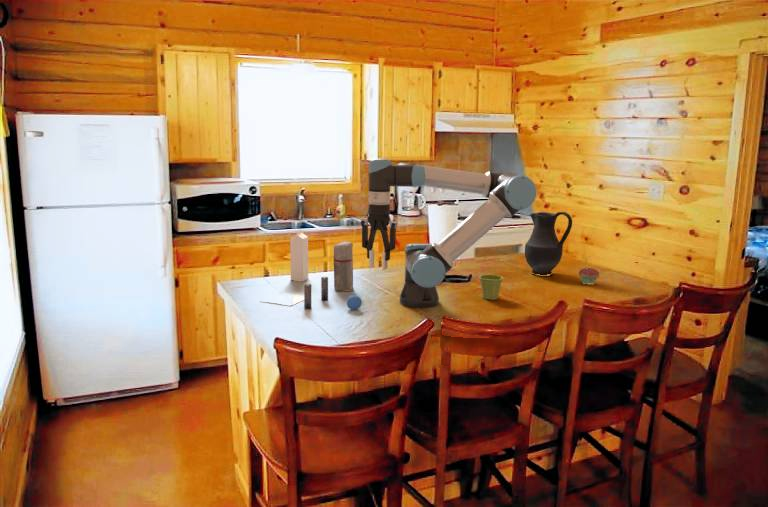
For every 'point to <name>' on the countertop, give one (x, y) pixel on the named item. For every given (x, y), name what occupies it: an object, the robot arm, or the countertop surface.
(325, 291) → the right post
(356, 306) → the ball
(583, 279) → the cupcake
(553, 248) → the pitcher
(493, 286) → the plant pot
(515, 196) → the robot arm
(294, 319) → the countertop surface
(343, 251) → the spray can
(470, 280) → the countertop surface
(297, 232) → the milk
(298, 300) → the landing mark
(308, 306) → the left post
